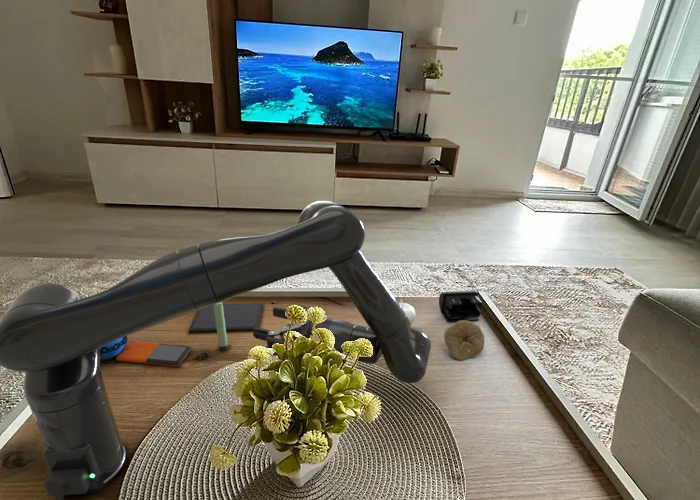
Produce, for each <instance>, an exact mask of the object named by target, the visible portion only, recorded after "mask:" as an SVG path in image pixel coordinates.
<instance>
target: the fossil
mask: <svg viewBox="0 0 700 500" xmlns="http://www.w3.org/2000/svg"><path fill="white" fill-rule="evenodd" d="M485 337H486V336H485V333H484V332H483V330H482V328H481V326H480V325H478V324H477V323H474V322H473V321H458V322H454V323H453V324H452V325H451V326H448V327H447V328H446V329H445V330H444V333H443V340H444V344H445V345H446V348H447V350H448V352H449V354H450V355H451V356H452V358H454V359H455V360H458V361H464V360H466V359H468V358H475V357H477V356H479V355H480V354H481V353H482V351H483V350H484V348H485V347H484V346H485V339H486V338H485Z"/></svg>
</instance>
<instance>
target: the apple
mask: <svg viewBox="0 0 700 500" xmlns="http://www.w3.org/2000/svg"><path fill="white" fill-rule="evenodd" d="M398 303H399V304H400V306H401V307H402V309H403V311H404V312H405V314H406V316H407V317H408V319H409V322H410V327H412V325H413V323H414V322H415V319H416V317H417V316H416V315H417V313H416V310H415V308H414V306H412V305H411V304H409V303H406V302H403V300H402V299H399V302H398Z"/></svg>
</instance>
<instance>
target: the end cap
mask: <svg viewBox="0 0 700 500" xmlns="http://www.w3.org/2000/svg"><path fill="white" fill-rule="evenodd" d="M438 306H439V310H440V312H441V315H442V316H443V318H444V319H445V321H446V322H447V323H448V324H449V323H450V324H451V323H453V324H454V323H456V322H458V321H470V322H478V321H479V319H480V318H479V317H481V314H482V311H481V310H480V308H481V309H482V308H483V302H482V301H481V299H480V298H479V292H478V291H477V290H462V291H460V290H459V291H443V292H441V293H440V294H439V296H438Z"/></svg>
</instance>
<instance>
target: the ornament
mask: <svg viewBox="0 0 700 500" xmlns="http://www.w3.org/2000/svg"><path fill="white" fill-rule="evenodd" d="M127 343H128V335H127V336H124V337H122V338H120V339H117V340H115V341H113V342H111V343H108V344H106V345H104V346H102V347H100V348H99V352H100V360H108V359H109V360H110V359H112V358H114V357H117V356H118V355H119V354H120V353H121V352H122V351H123V350H124V349H125V346H126V345H127Z"/></svg>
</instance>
